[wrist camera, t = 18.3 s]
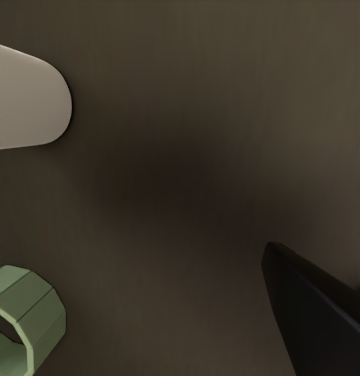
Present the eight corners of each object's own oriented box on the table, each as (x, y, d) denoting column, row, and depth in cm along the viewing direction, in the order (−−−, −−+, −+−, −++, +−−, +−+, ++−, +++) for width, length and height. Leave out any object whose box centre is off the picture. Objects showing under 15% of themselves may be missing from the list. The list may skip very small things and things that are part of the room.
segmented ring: (82, 340, 26) (53, 384, 21) (8, 357, 28) (-31, 400, 24) (36, 254, 24) (-6, 282, 20) (-39, 280, 26) (-90, 311, 22)
